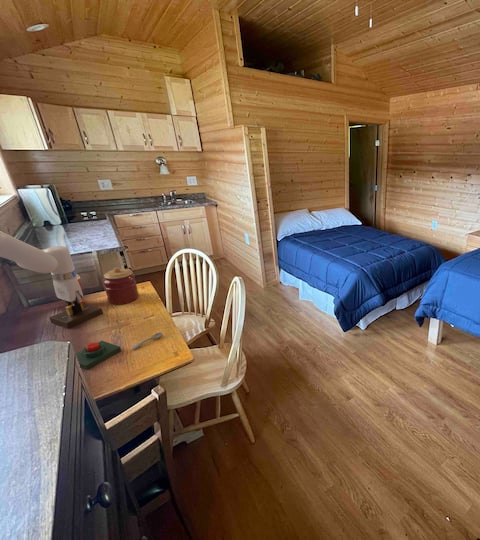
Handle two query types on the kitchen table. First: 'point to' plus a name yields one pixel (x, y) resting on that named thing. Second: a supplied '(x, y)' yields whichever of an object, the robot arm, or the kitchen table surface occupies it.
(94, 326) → the kitchen table surface
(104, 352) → the button box
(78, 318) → the plate
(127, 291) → the kitchen canister
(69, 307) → the latch
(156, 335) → the spoon
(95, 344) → the button
